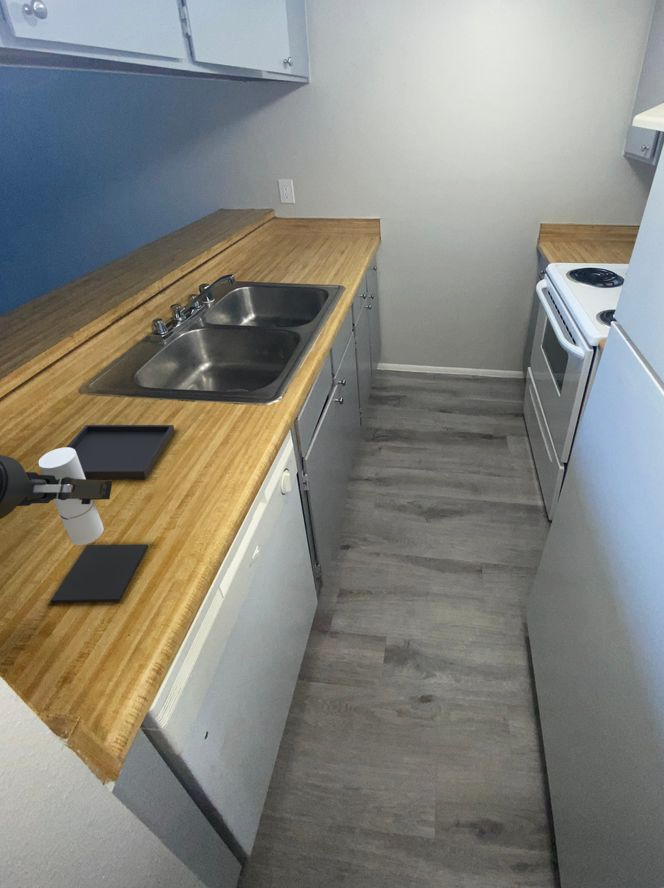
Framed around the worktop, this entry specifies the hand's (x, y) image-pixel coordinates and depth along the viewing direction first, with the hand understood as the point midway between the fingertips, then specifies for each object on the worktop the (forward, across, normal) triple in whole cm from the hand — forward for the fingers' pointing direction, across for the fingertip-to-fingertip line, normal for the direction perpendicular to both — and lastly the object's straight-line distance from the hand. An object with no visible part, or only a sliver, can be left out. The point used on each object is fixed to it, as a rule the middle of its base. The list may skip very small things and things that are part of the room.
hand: (91, 490), depth 73 cm
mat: (+8, 0, +13) cm, 15 cm away
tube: (+1, 0, +6) cm, 7 cm away
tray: (+28, +12, -8) cm, 31 cm away
